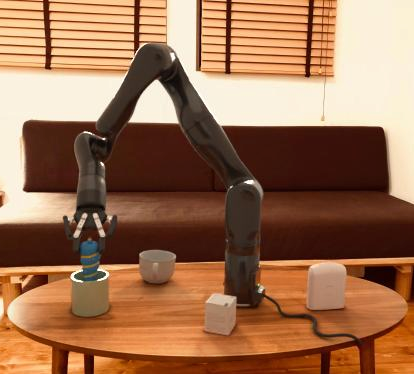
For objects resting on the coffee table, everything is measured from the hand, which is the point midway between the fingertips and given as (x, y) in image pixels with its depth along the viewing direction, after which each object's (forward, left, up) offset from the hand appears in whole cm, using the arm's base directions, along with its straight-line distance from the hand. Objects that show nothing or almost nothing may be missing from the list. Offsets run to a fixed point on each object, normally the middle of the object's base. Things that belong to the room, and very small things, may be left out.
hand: (89, 253), depth 114 cm
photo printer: (-55, -26, -16) cm, 63 cm away
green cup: (+1, -1, -15) cm, 15 cm away
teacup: (-6, -24, -16) cm, 30 cm away
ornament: (+1, -1, -11) cm, 12 cm away
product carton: (-33, -4, -16) cm, 37 cm away
